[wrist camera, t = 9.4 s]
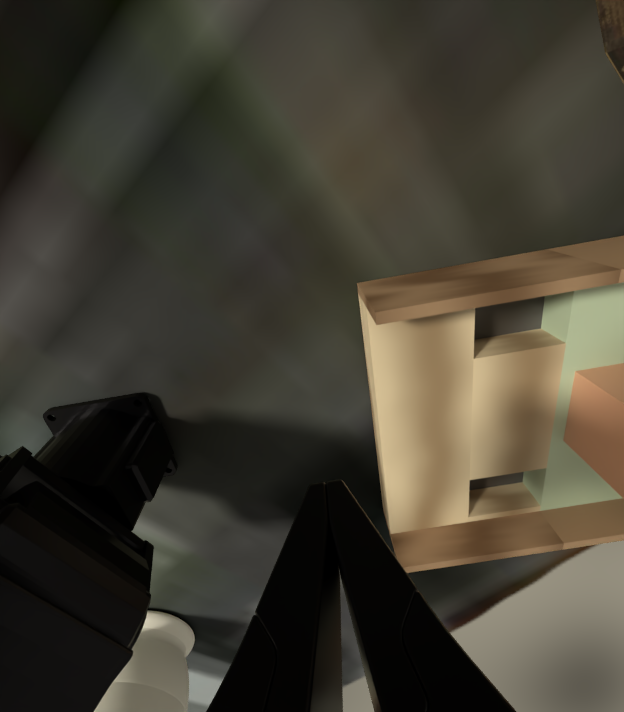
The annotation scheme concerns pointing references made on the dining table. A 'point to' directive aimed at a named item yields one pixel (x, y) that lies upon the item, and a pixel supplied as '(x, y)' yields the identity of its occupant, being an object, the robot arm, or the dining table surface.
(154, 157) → the dining table surface
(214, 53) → the dining table surface
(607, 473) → the terracotta block
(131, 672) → the jar
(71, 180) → the dining table surface
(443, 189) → the dining table surface
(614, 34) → the wood slice
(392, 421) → the board
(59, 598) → the robot arm
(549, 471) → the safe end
